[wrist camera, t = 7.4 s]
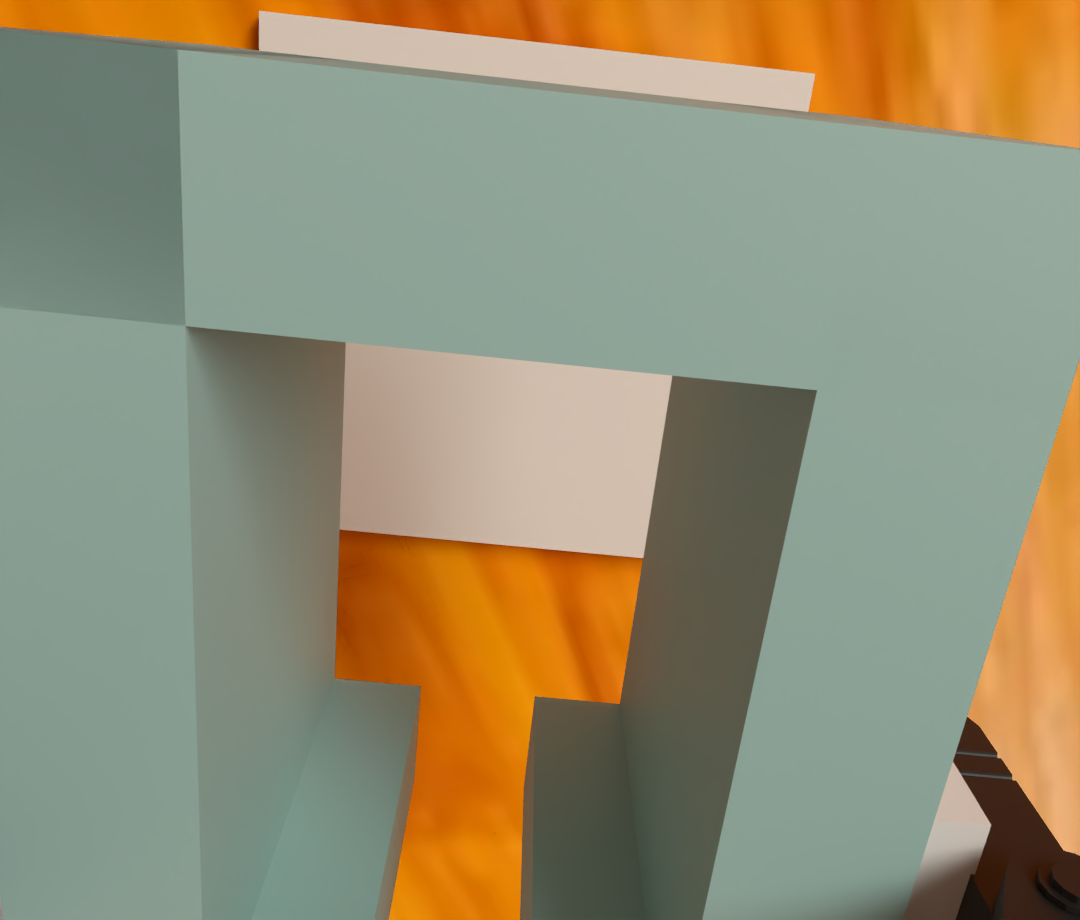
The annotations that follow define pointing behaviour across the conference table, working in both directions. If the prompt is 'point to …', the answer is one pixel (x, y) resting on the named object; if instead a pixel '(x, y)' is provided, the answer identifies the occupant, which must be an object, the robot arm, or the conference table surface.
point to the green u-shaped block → (521, 334)
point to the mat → (506, 384)
